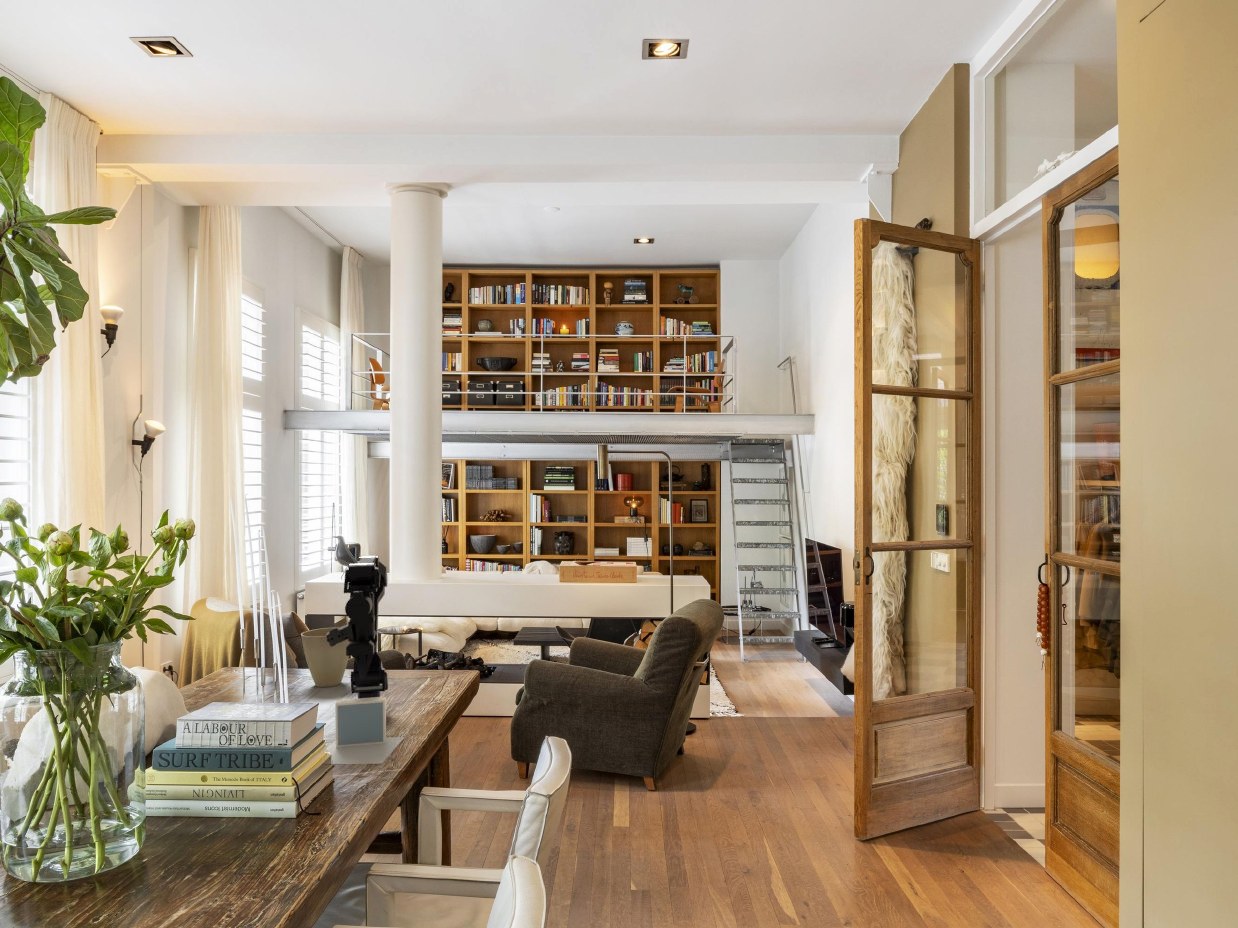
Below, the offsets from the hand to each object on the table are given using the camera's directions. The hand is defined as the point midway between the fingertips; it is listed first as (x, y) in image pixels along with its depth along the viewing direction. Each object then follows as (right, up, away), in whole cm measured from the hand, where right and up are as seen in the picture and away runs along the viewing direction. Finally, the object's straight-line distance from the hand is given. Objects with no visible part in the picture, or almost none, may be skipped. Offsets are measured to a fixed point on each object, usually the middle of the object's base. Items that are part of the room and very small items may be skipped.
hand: (362, 677), depth 203 cm
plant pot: (-25, -15, +47) cm, 55 cm away
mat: (+4, -13, -16) cm, 21 cm away
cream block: (+3, -13, -11) cm, 17 cm away
